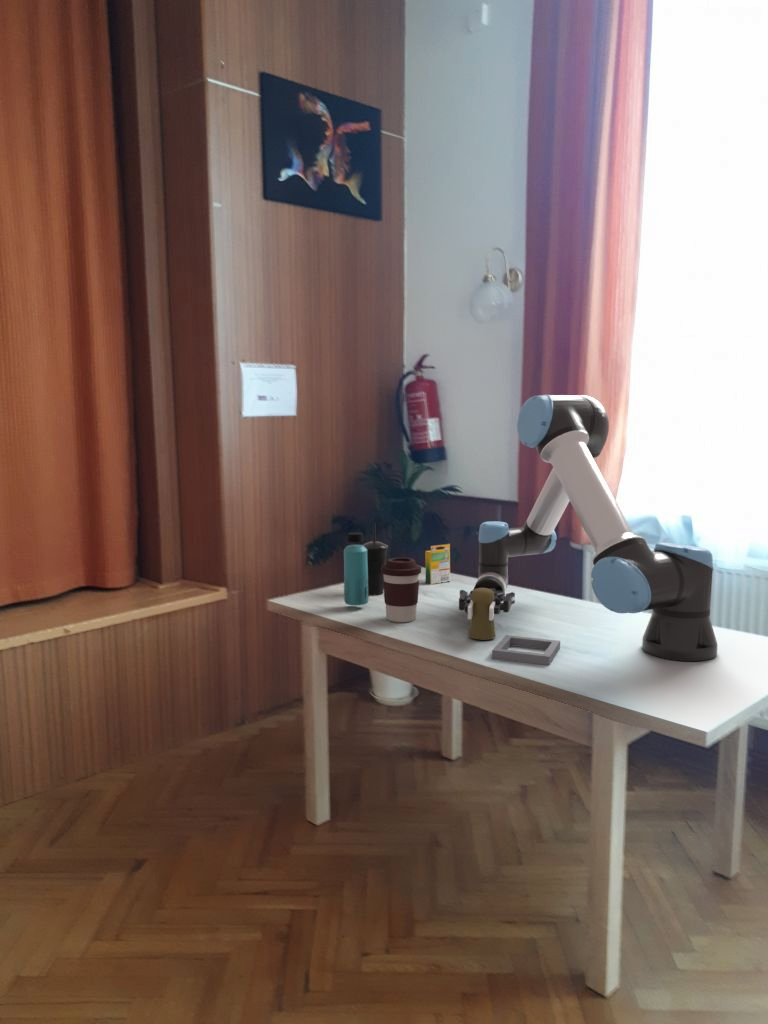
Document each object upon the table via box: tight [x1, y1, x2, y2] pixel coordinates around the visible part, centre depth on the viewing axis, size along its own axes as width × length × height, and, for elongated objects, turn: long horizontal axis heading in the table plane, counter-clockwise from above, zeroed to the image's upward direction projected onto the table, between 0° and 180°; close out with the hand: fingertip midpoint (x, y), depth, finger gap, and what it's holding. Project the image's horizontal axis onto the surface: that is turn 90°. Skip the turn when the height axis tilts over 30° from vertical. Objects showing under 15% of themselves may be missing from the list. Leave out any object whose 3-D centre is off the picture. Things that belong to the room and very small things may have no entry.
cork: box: [468, 588, 496, 641], centre depth 182 cm, size 6×6×11 cm
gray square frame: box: [491, 634, 561, 666], centre depth 171 cm, size 12×12×2 cm
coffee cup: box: [381, 557, 422, 623], centre depth 198 cm, size 10×10×15 cm
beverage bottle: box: [343, 532, 370, 606], centre depth 209 cm, size 6×7×20 cm
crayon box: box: [424, 543, 451, 585], centre depth 239 cm, size 7×3×12 cm, turn 122°
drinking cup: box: [362, 522, 389, 596], centre depth 225 cm, size 8×8×20 cm
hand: (480, 613), depth 176 cm, fingers closed on cork, 4 cm apart
